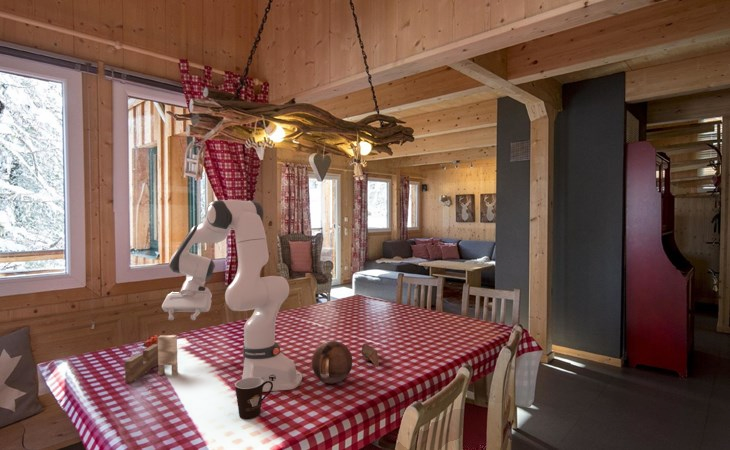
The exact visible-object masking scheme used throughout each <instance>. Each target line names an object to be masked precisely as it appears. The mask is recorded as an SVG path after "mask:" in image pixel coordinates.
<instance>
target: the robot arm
mask: <svg viewBox="0 0 730 450" xmlns="http://www.w3.org/2000/svg"><path fill="white" fill-rule="evenodd" d="M206 208H207V209H206V215H205V218H204V221H203V222H201V223H200V224H196V225H193V227H192V228H191V229H190V230H189V231H188V233H187V235H186V236H185V237H184V239H183V241H182V242H181V244H179V247H177V249H176V251H175V252H174V253H172V255H171V257H170V259H169V263H168V266H169V268H170V270H171V271H172V272H173V273H177V274H183V275H185V280H184V282H183V283H182V286H181V288H180V291H171V292H170V293H168V294H166V297H165V299H164V301H163V302H162V304H161V308H162V310H163V312H164V313H168V318H167V319H168V321H174V319H175V316H174V313H183V312H184V313H189V312H190V313H193V314H190V320H191V321H196V318H197V317H198V316H199V315H200V314H201V313H205V312H206V313H207V312H209V311H210V310H211V306H212V302H213V301H212V297H213V294H212V292H211V290H210V289H209V288H208V287H207V286H204V285H205V284H206V282H208V281H209V280H211V278H212V277H213V272H214V269H215V267H216V264H215V262H214V260H213V259H211V258H209V257H206V256H203V255H199V254H196V253H192V252H190V249H191V248H192V246H193V245H195V244H200V243H201V244H217V243H220V242H221V243H222V242H223V241H225V239H226V238H227V237H228V235H229V234H230V232H231V229H233V230H234V233H235V234H234V235H235V243H236V244H235V245H236V253H237V270H236V274H235V276H234V278H233V280H232V281H231V283H230V284H229V285H228V286H227V288H226V290H225V293H224V300H225V303H226V305H227V307H228V308H229V309H230V310H231V311H234V312H247V311H251V310H254V311H253V313H252V315H251V316H250V317H249V318H248V319H247V320H246V322H245V323H244V325H243V340H244V341H243V345H242V357H243V358H242V359H243V368H242V369H243V371H242V376H241V379H244V378H249V377H257V378H261V379H263V383H264V382H266V381H271V382H272V383H273V388H272V390H271V392H278V391H285V390H286V391H289V390H294V389H296V388H297V387H299V386H300V385H301V383H302V381H303V374H302V373H301V371H297V369H296V368H297V367H296V364H295V362H294V361H293V360H292V359H290V358H289V357H288V356H286V355H284V353H282V352H281V347H282V346H281V345H282V344H281V343H279V344H278V343H277V342H276V341H275V340H276V339H275V338H276V337H275V336H276V334H275V333H276V320H277V317H278V313H279V311H280V309H281V306H282V304H283V303H284V302H285V300H286V299H288V297H289V294H290V285H289V282H288V280H287V279H286V278H285V277H284V276H278V275H269V276H263V277H261V272H262V269H263V267H264V266H265V265H266V264H267V263H268V262H269V258H270V256H269V255H270V254H269V249H268V247H269V246H268V242H267V241H268V240H267V235H266V231H265V228H264V223H263V219H264V209H263V206H262V205H261V204H260V202H258V201H254V200H238V199H226V200H225V199H217V200H215V201H212V202H210V203H209V204H208V206H207V207H206ZM270 388H271V384H270V383H266V384H265V385H264V386H263V392H262V393H264V392H269V390H270Z"/></svg>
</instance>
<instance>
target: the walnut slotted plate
mask: <svg viewBox="0 0 730 450" xmlns="http://www.w3.org/2000/svg"><path fill="white" fill-rule="evenodd" d="M146 348H147V347H146ZM146 348H145V349H143V350H142V353H136V354H134V355H133V356H131V357H129V358H128V359H126V360H125V361H124V380H125V381H124V382H125V383H133V382H134V381H136V380H137V379H139V378H140V377H142V376H143V375H145V372H146V373H147V372H149V371H151V368H152V367H153V368H154V366H155V365H156V366H157V365H158V344H153V345H152V346H150V347H148V348H147V349H146ZM156 366H155V367H156ZM153 368H152V369H153ZM148 370H149V371H148ZM141 375H142V376H141ZM138 377H139V378H138ZM135 379H136V380H135Z"/></svg>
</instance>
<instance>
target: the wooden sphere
mask: <svg viewBox="0 0 730 450" xmlns="http://www.w3.org/2000/svg"><path fill="white" fill-rule="evenodd" d="M311 367H312V370H313V373H314V375H315V377H317V378H318V380H320V381H322V382H323V383H326V384H337V383H340V382H343V380H345V379H346V378H347V377H348V376H349V374H350V373H351V372H352V371H351V370H352V368H353V356H352V353H351V351H350V349H349V348H348V347H347V346H346V345H345V344H344V343H342V342H339V341H337V340H328V341H325V342H323V343H322V344H320V345H319V346H318V347H317V348H316V349H315V351H314V352H313V354H312V359H311Z"/></svg>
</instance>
